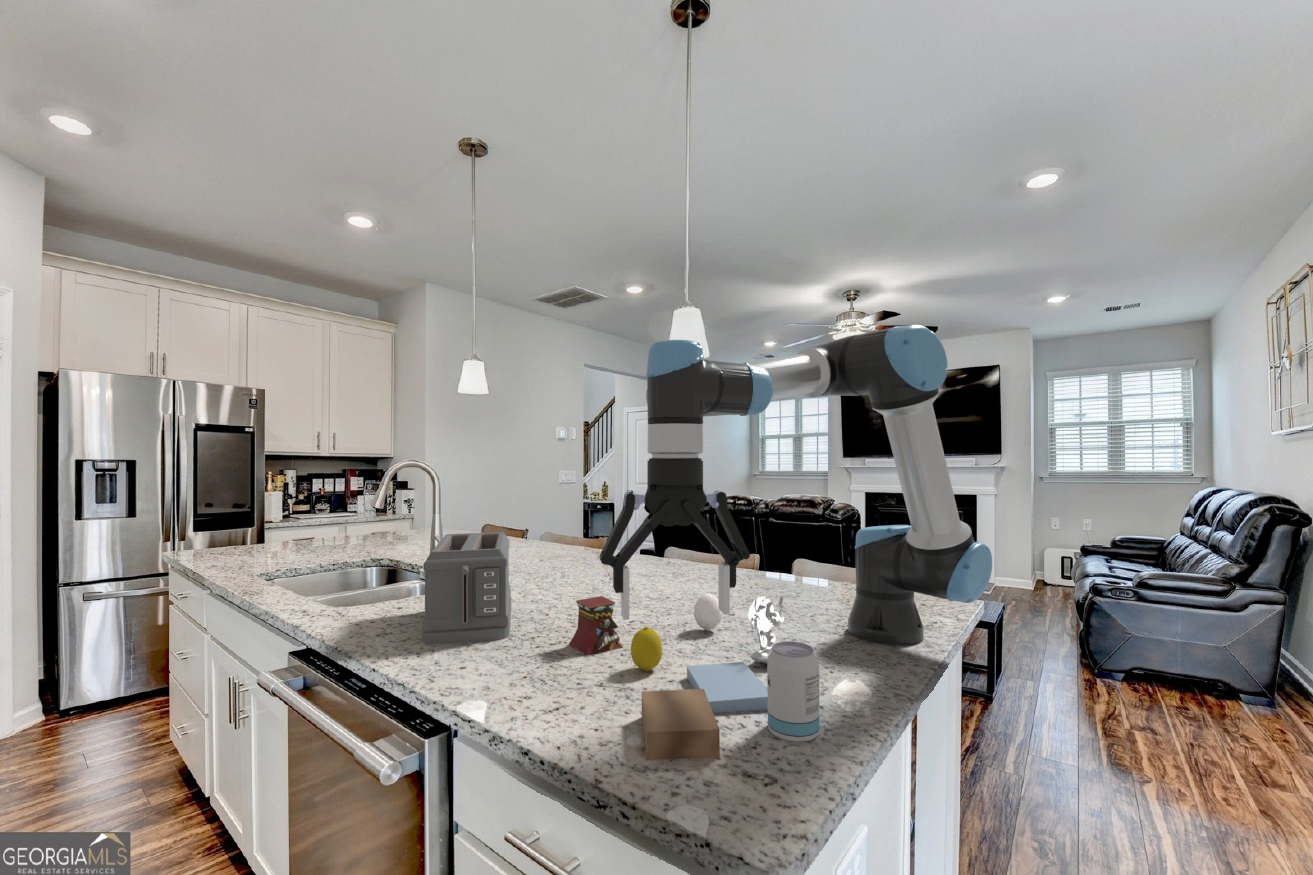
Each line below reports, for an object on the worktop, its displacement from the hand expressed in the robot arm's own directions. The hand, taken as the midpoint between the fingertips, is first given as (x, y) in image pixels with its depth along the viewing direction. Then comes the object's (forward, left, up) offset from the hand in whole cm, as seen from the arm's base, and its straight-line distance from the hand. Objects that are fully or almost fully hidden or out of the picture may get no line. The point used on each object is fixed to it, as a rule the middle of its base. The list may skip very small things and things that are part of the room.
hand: (675, 614), depth 79 cm
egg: (-17, -46, -17) cm, 52 cm away
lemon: (0, -25, -17) cm, 30 cm away
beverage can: (-16, +1, -17) cm, 24 cm away
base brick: (-11, -13, -18) cm, 24 cm away
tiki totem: (+8, -40, -18) cm, 44 cm away
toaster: (+34, -60, -18) cm, 71 cm away
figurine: (-22, -25, -17) cm, 38 cm away
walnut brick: (0, 0, -18) cm, 18 cm away
